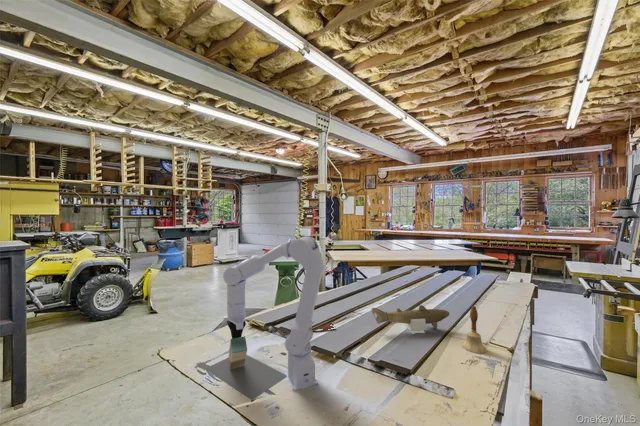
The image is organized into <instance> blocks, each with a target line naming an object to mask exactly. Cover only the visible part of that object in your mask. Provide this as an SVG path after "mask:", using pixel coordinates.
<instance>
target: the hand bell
mask: <svg viewBox="0 0 640 426" xmlns="http://www.w3.org/2000/svg"><path fill="white" fill-rule="evenodd" d="M478 315H479V314H478V310H477V306H475V305H472V306H471V308H470V312H469V317H470V321H471V326H470V327H471V330H470V331H468V332H467V334H466V335H467V336H466V339H465V341H464V342H462V344H461V347H462V348H463V349H464V350H465V351H467V352H469V353H473V354H485V353H486V352H487V347H486V346H484V344H483V342H482V336H481V334H480V333H479V332H477V322H478Z"/></svg>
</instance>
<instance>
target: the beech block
mask: <svg viewBox="0 0 640 426" xmlns="http://www.w3.org/2000/svg"><path fill="white" fill-rule="evenodd" d="M228 349H229V350H228V357H229V365H230V369H234V368H238V367H242V366H244V364H245V359H246V355H247V352H248V346H247V340H246V336H244V335H243V336H241V337H239V338H233V339H232V338H230V341H229V348H228Z"/></svg>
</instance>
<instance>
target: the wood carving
mask: <svg viewBox="0 0 640 426" xmlns="http://www.w3.org/2000/svg"><path fill="white" fill-rule="evenodd" d="M418 307H419V308H418V309H413V310H402V309H400V308H396V310H395V311H390V312H389V311H388V312H387V311H383V310H382V309H379V308H376V307H371V313H372V315H373V317H374V319H375V321H376V323H377V324H378V325H379V324H381V323H385V322H391V323H396V324H405V329H406V328H408V329H409V330H411V331H421V330H425V331H426V325H429V324H431V325H432V328H433V330H436V329H437V328H438V323H439V322H442V321H444V319H446V318H447V317H449V316H450V312H449V311H448V310H447V309H446V310H445V309H439V308H437V309H435V308H433V309H432V308H429V309H428V308H426V307H425V306H424V305H422V304H420V305H418ZM375 314H376V317H375Z"/></svg>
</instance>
